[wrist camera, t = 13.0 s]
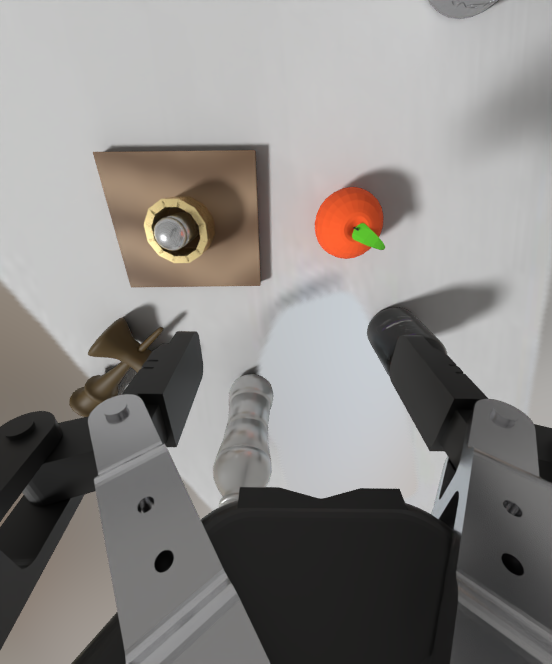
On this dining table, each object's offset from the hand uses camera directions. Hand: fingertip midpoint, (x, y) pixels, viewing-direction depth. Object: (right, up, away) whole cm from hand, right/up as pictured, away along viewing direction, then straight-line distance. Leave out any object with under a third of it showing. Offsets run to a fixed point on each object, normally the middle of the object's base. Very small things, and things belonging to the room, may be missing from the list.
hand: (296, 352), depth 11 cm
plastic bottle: (-5, -7, +32) cm, 33 cm away
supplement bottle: (+15, +2, +27) cm, 32 cm away
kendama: (-23, -3, +30) cm, 38 cm away
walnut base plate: (-11, +13, +20) cm, 27 cm away
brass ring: (-11, +13, +19) cm, 25 cm away
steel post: (-11, +13, +19) cm, 25 cm away
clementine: (+7, +14, +21) cm, 26 cm away
